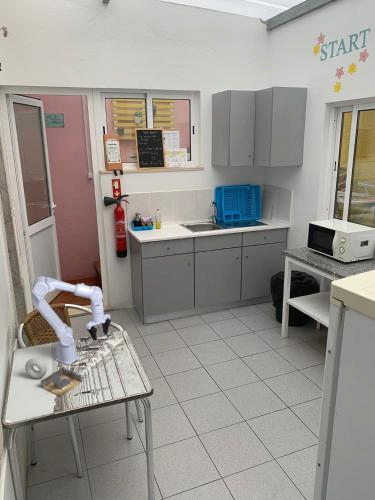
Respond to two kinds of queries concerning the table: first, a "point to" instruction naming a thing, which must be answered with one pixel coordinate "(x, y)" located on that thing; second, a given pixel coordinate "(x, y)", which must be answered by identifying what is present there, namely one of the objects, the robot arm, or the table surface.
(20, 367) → the table surface
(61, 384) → the bracket
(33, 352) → the table surface
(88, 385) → the table surface
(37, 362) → the donut
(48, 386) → the tray
